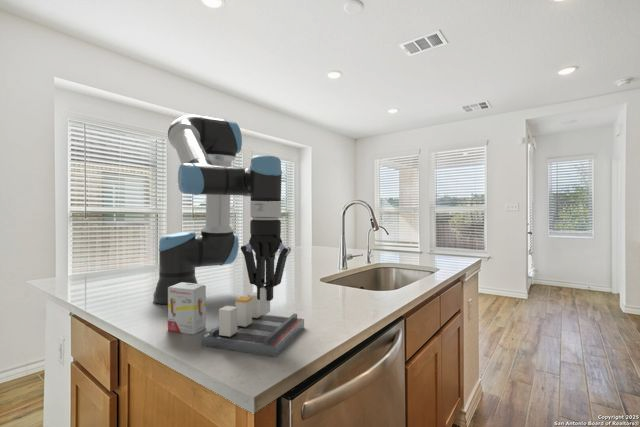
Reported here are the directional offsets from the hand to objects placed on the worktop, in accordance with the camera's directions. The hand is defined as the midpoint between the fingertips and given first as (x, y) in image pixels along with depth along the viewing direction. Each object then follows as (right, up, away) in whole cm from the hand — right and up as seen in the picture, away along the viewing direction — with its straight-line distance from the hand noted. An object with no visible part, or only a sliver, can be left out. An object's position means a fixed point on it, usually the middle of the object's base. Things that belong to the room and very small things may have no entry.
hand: (265, 312), depth 79 cm
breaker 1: (-8, -4, -4) cm, 10 cm away
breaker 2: (-6, -3, +2) cm, 7 cm away
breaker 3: (-4, -3, +8) cm, 10 cm away
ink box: (-21, -6, +4) cm, 23 cm away
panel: (-2, -6, +1) cm, 6 cm away
